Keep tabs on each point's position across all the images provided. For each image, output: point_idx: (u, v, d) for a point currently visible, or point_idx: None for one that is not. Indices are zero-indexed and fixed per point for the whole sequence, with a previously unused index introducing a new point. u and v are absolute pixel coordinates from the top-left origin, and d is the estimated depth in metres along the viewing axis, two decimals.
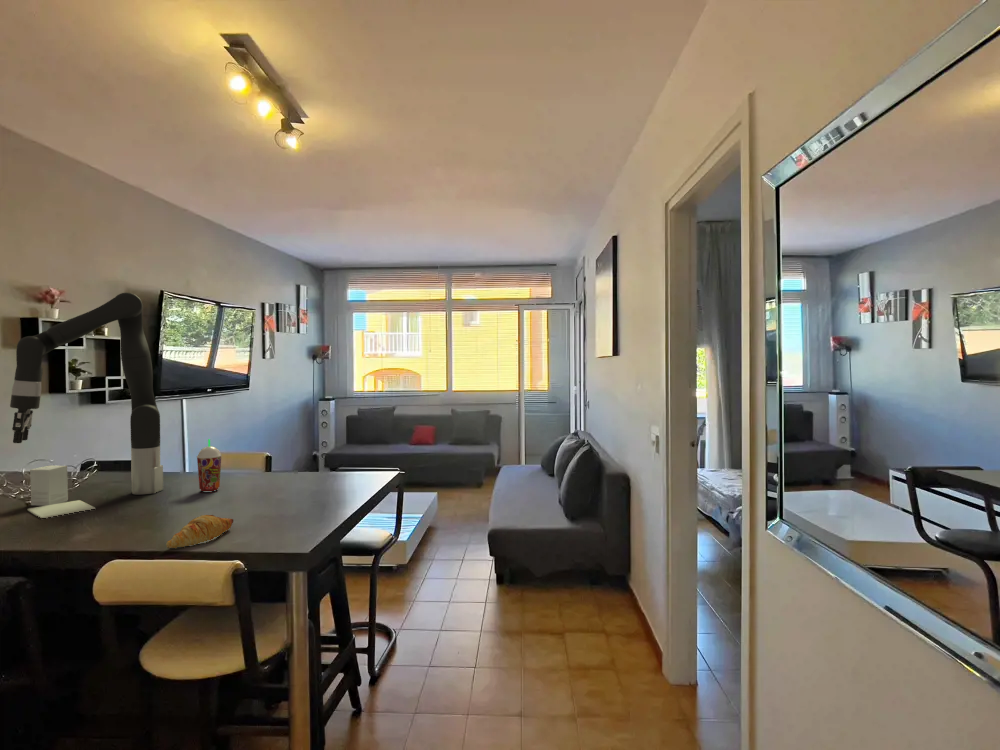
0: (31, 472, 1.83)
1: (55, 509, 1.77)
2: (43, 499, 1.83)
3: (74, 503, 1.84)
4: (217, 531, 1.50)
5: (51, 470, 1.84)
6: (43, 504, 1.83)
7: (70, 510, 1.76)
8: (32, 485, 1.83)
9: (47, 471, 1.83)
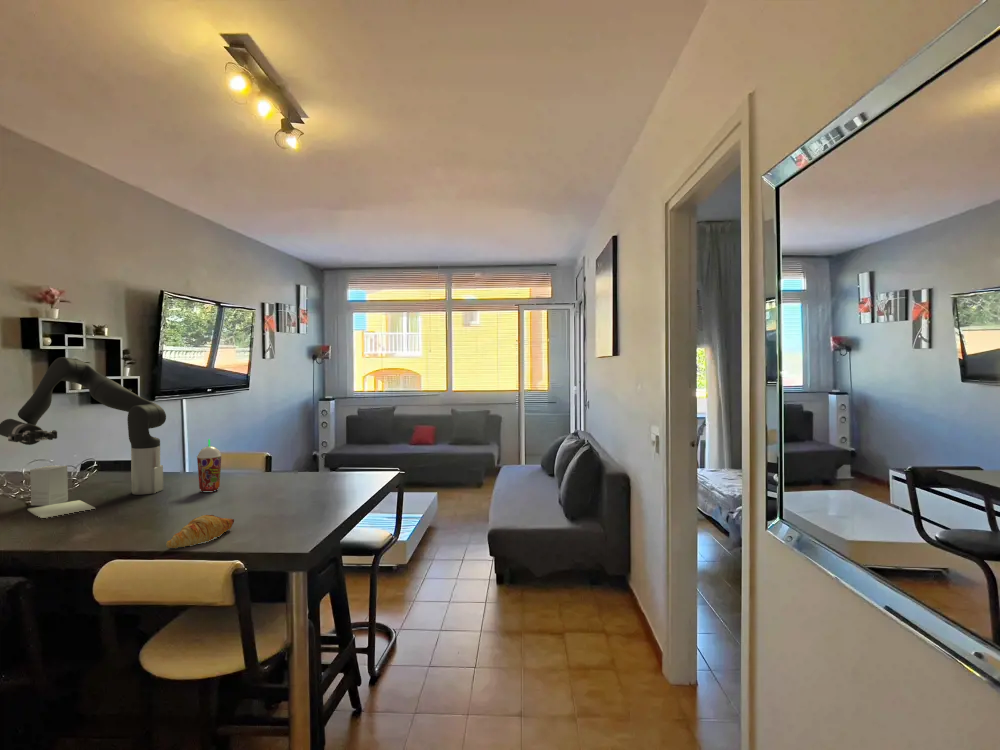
0: (31, 472, 1.83)
1: (55, 509, 1.77)
2: (43, 499, 1.83)
3: (74, 503, 1.84)
4: (217, 531, 1.50)
5: (51, 470, 1.84)
6: (43, 504, 1.83)
7: (70, 510, 1.76)
8: (32, 485, 1.83)
9: (47, 471, 1.83)
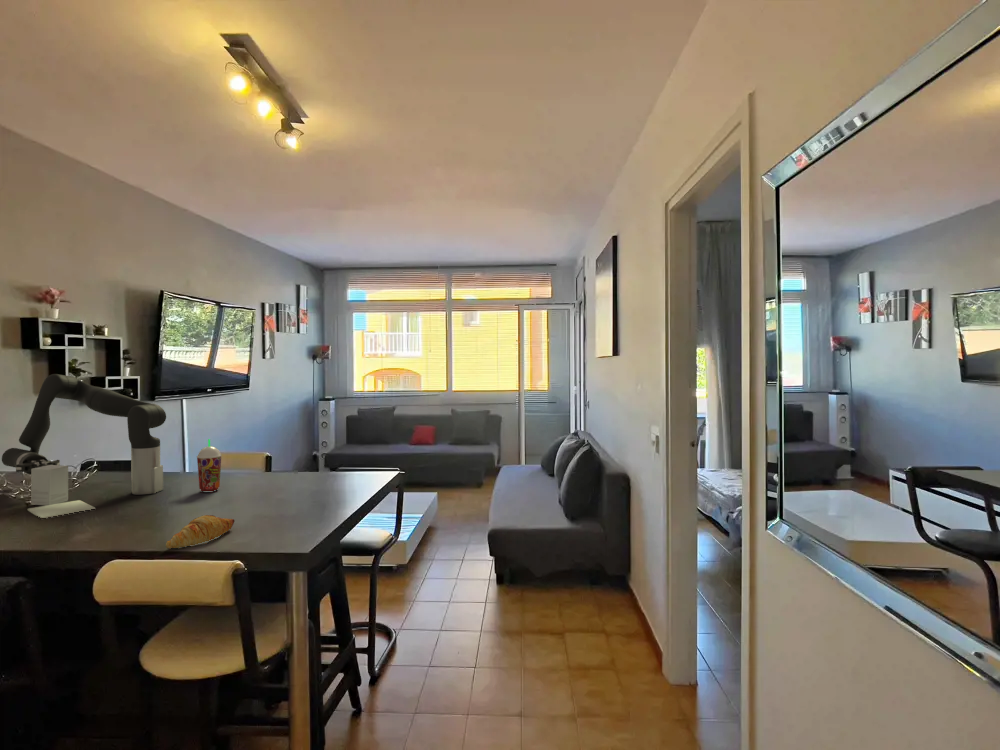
0: (32, 471, 1.83)
1: (55, 509, 1.77)
2: (43, 499, 1.83)
3: (74, 503, 1.84)
4: (217, 531, 1.50)
5: (52, 470, 1.84)
6: (43, 504, 1.83)
7: (70, 510, 1.76)
8: (33, 484, 1.83)
9: (48, 471, 1.83)
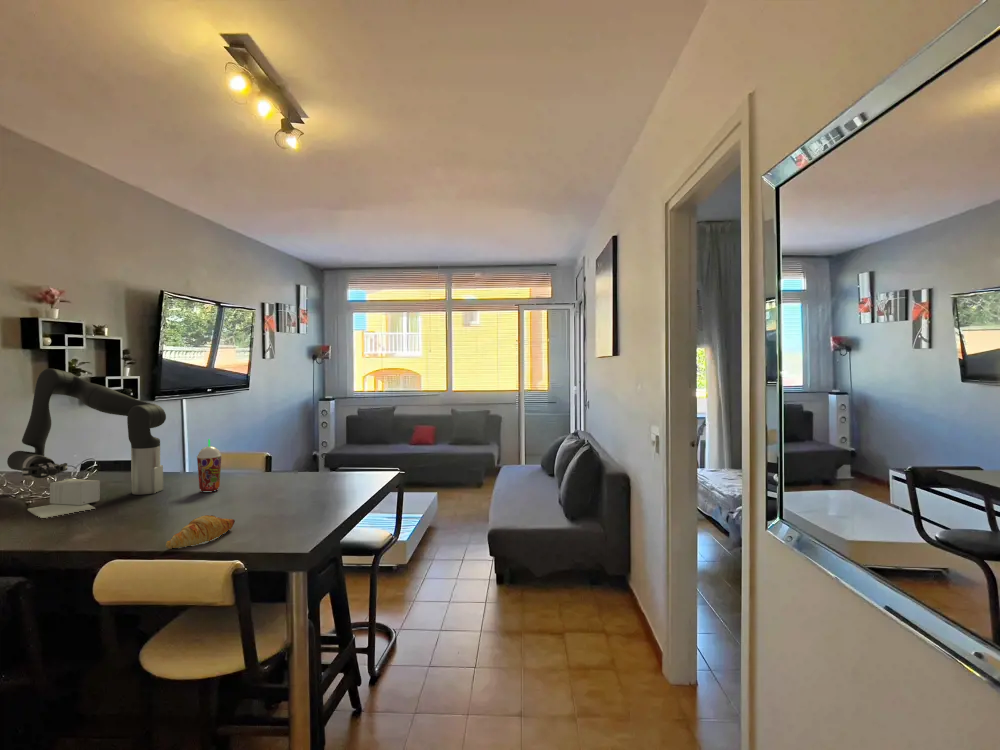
0: (78, 485, 1.82)
1: (55, 509, 1.77)
2: (55, 497, 1.83)
3: None
4: (217, 532, 1.50)
5: (82, 504, 1.82)
6: (50, 497, 1.83)
7: (70, 510, 1.76)
8: (67, 486, 1.82)
9: (79, 503, 1.82)
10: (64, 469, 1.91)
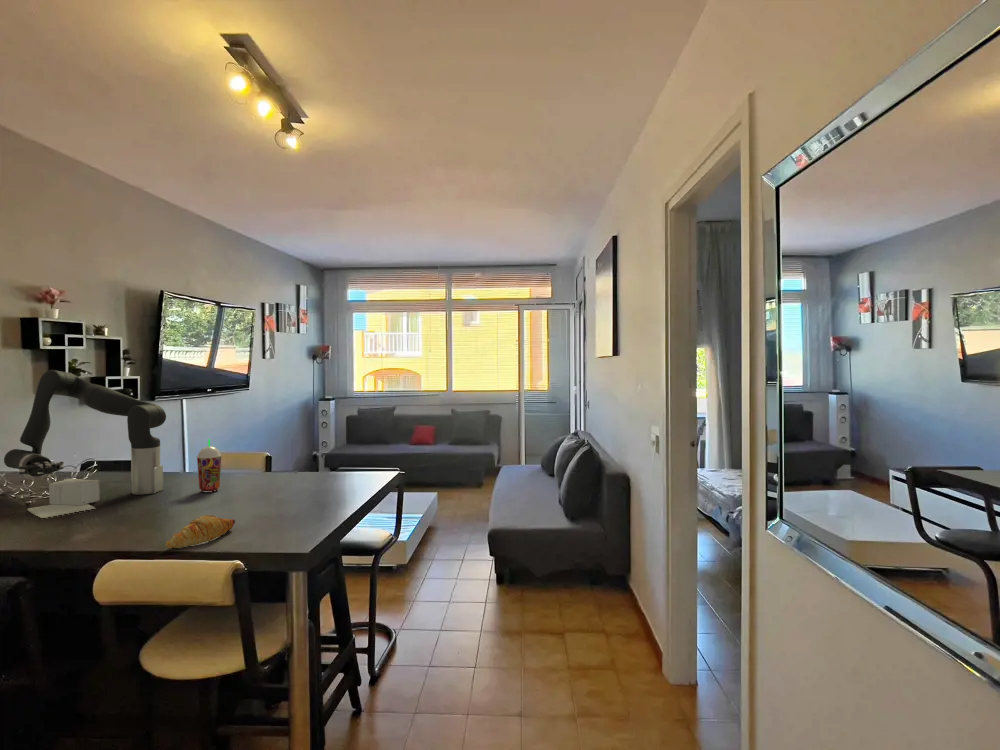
0: (77, 486, 1.81)
1: (55, 509, 1.77)
2: (54, 498, 1.83)
3: None
4: (217, 532, 1.50)
5: None
6: (50, 497, 1.83)
7: (70, 510, 1.76)
8: (66, 487, 1.82)
9: (79, 504, 1.82)
10: (60, 468, 1.94)
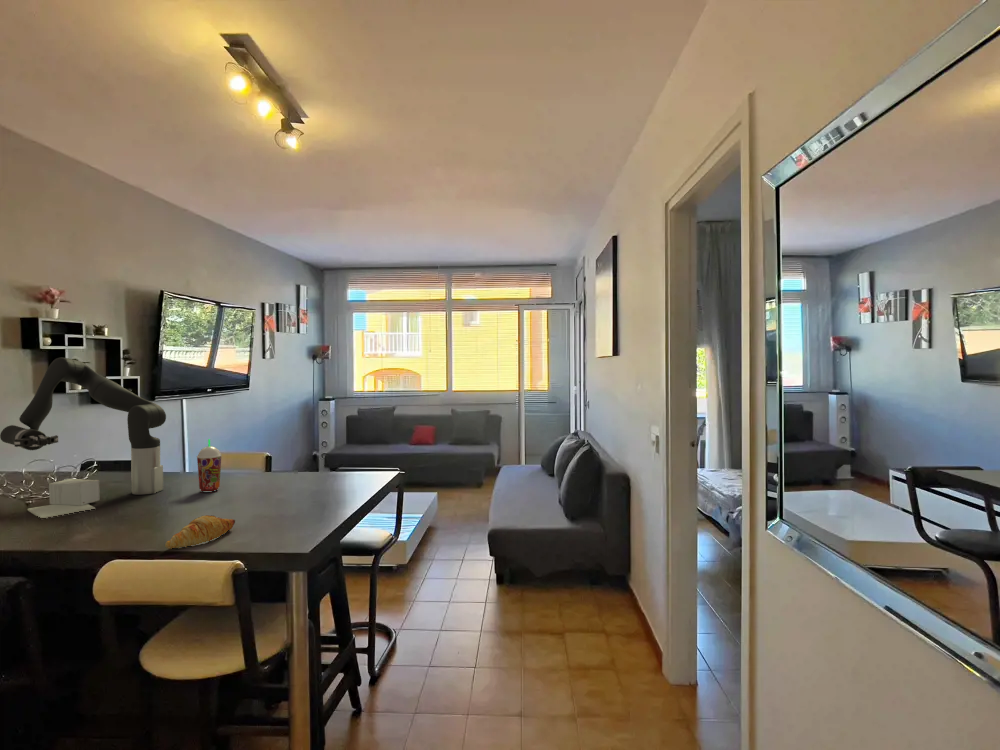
0: (77, 486, 1.81)
1: (55, 509, 1.77)
2: (54, 498, 1.83)
3: None
4: (217, 532, 1.49)
5: None
6: (50, 497, 1.83)
7: (70, 510, 1.76)
8: (66, 487, 1.82)
9: (79, 504, 1.82)
10: (55, 441, 1.98)
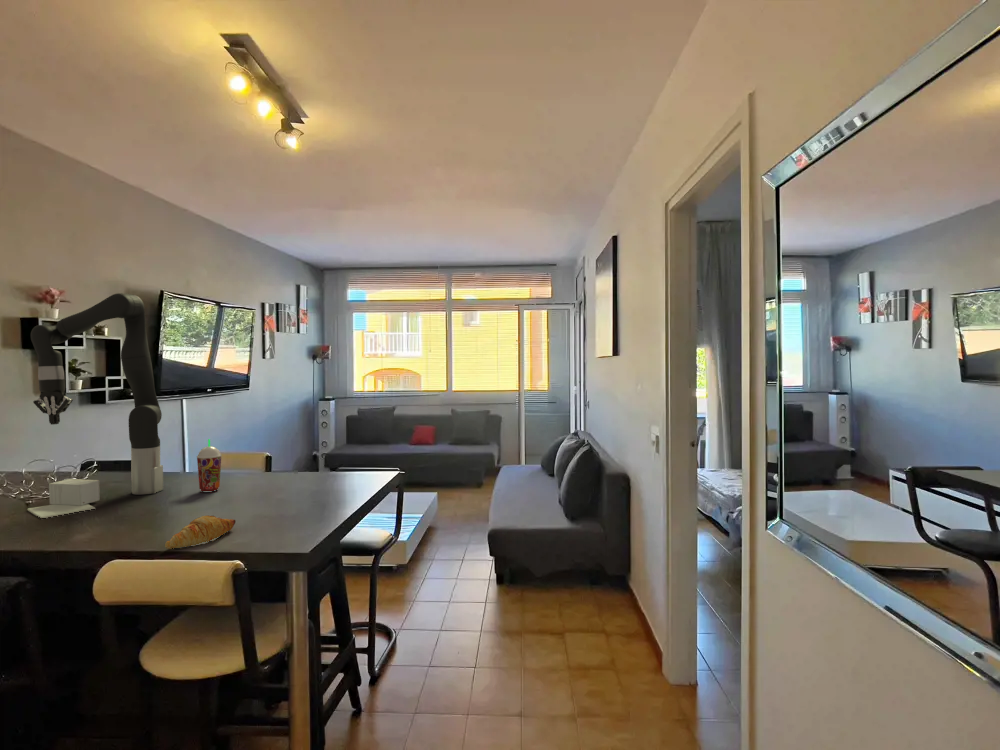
0: (77, 486, 1.81)
1: (55, 509, 1.77)
2: (54, 498, 1.83)
3: None
4: (217, 532, 1.49)
5: None
6: (50, 497, 1.83)
7: (70, 510, 1.76)
8: (66, 487, 1.82)
9: (79, 504, 1.82)
10: (68, 405, 2.03)
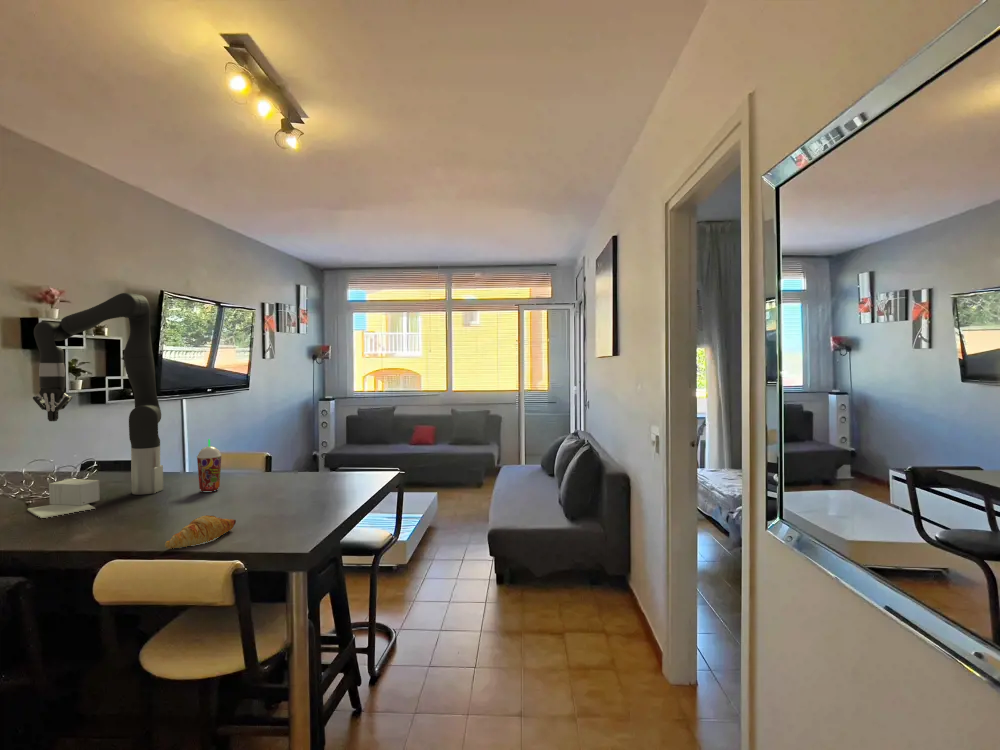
0: (77, 486, 1.81)
1: (55, 509, 1.77)
2: (54, 498, 1.83)
3: None
4: (217, 532, 1.49)
5: None
6: (50, 497, 1.83)
7: (70, 510, 1.76)
8: (66, 487, 1.82)
9: (79, 504, 1.82)
10: (67, 402, 2.02)
